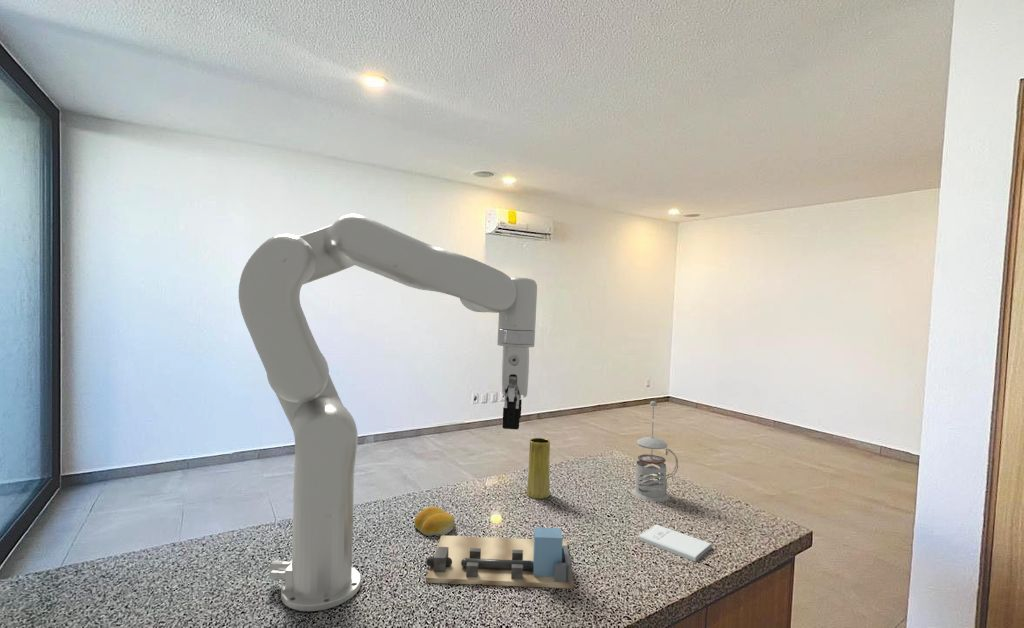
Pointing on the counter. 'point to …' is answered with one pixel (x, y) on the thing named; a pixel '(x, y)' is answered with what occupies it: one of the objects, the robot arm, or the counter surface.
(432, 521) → the bread roll
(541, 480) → the vase
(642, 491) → the french press
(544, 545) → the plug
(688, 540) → the external hard drive
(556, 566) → the end holder
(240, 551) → the counter surface
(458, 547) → the board
